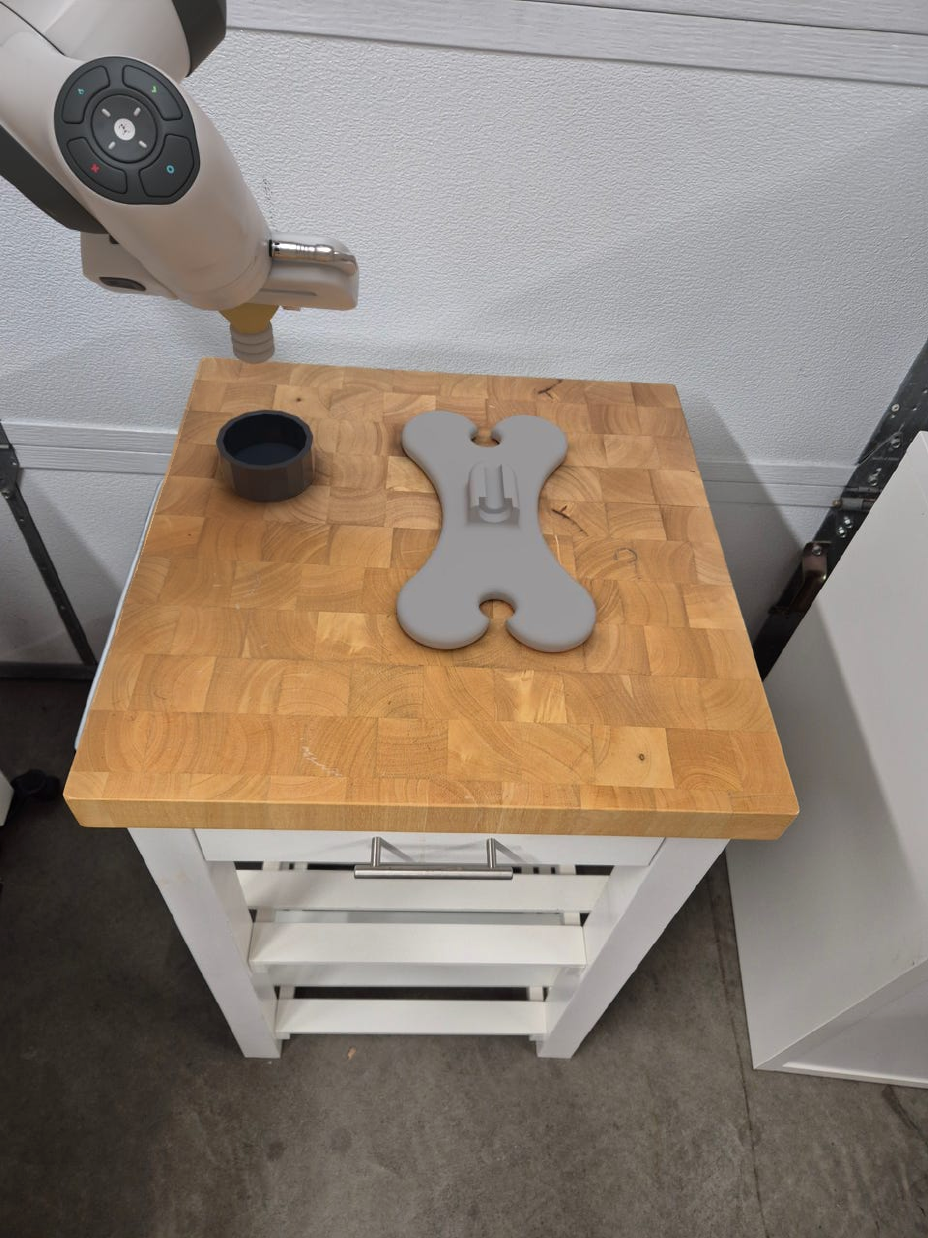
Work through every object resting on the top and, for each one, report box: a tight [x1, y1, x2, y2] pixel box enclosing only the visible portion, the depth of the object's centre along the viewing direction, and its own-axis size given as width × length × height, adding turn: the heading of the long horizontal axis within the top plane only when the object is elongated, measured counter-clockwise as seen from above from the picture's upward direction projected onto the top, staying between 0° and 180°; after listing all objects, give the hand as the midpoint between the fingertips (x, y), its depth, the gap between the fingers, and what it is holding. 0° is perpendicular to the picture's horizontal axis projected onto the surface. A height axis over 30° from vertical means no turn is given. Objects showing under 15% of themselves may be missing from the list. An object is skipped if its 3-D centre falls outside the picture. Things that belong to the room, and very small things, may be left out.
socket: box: [215, 409, 316, 503], centre depth 87 cm, size 10×10×4 cm
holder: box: [395, 410, 597, 653], centre depth 84 cm, size 19×34×5 cm, turn 2°
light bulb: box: [217, 303, 280, 365], centre depth 71 cm, size 6×6×10 cm
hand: (248, 297), depth 71 cm, fingers closed on light bulb, 6 cm apart
